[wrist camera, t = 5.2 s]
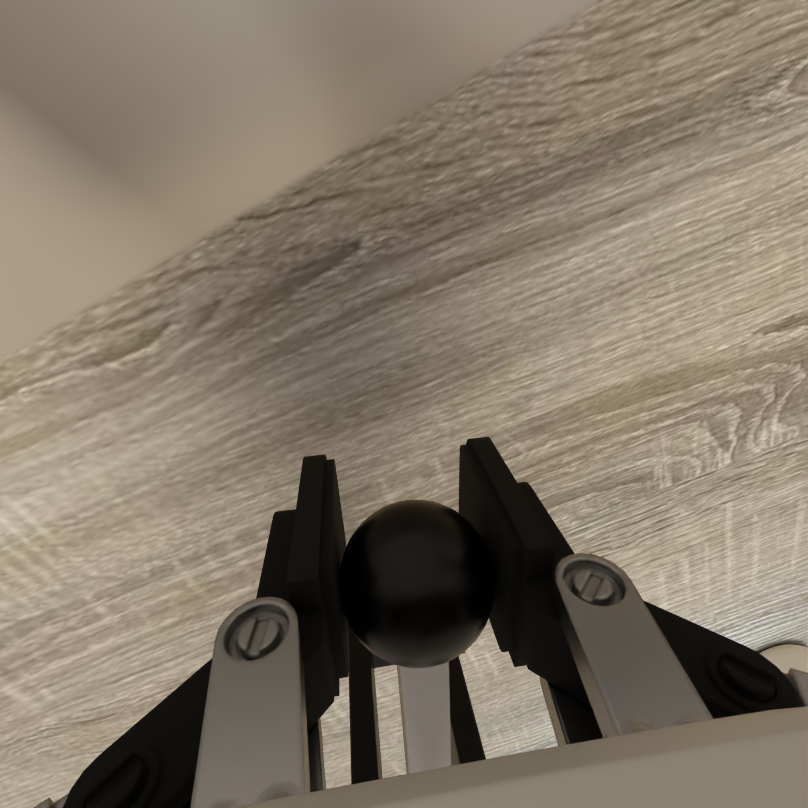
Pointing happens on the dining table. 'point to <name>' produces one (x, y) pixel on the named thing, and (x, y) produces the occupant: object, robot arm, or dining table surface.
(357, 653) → the black lever stand
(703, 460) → the dining table surface
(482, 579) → the faucet lever
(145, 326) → the dining table surface
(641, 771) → the robot arm
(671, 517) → the dining table surface
